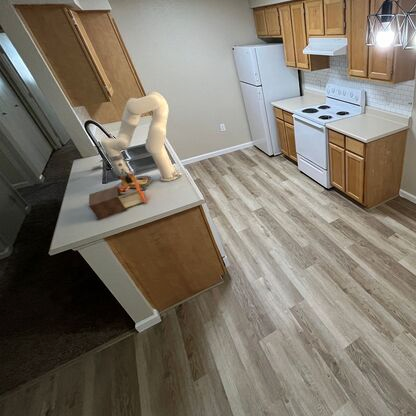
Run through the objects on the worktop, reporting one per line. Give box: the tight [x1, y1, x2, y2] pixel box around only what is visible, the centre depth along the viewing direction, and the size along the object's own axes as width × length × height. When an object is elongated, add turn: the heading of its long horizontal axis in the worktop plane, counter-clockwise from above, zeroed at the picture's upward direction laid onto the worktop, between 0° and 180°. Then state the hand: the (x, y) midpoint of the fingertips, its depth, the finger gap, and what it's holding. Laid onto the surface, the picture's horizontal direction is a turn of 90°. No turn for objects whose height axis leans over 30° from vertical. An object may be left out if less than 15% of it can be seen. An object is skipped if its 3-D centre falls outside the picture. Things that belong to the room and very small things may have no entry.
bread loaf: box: [119, 172, 137, 186], centre depth 183 cm, size 8×5×6 cm, turn 126°
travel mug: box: [105, 152, 123, 178], centre depth 198 cm, size 6×7×20 cm
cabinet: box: [88, 185, 127, 221], centre depth 163 cm, size 14×17×10 cm
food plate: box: [113, 175, 153, 195], centre depth 186 cm, size 25×23×4 cm
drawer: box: [118, 180, 147, 209], centre depth 168 cm, size 17×16×10 cm
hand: (129, 180), depth 184 cm, fingers closed on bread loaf, 5 cm apart
